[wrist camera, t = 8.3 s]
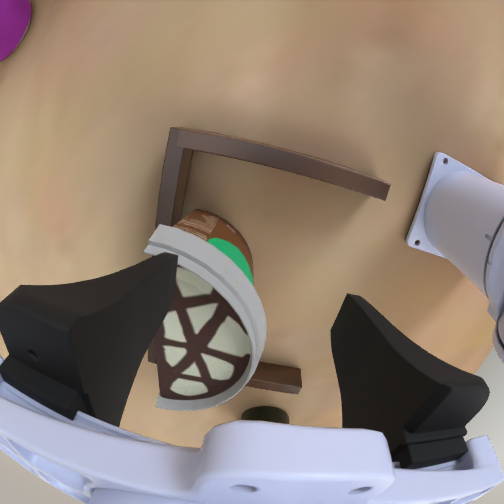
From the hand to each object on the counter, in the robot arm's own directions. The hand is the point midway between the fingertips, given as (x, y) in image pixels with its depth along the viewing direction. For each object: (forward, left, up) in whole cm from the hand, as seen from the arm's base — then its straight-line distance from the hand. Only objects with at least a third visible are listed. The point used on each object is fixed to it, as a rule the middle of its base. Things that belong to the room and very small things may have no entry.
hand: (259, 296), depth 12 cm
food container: (+2, +5, -11) cm, 12 cm away
